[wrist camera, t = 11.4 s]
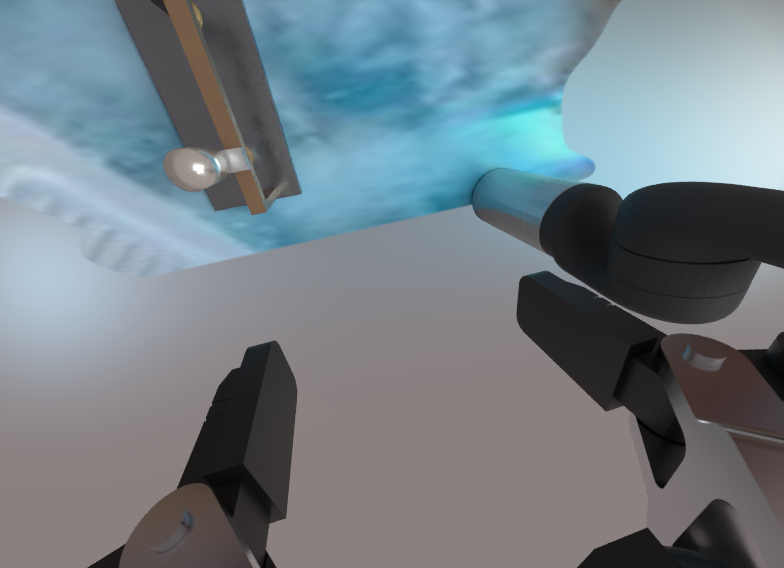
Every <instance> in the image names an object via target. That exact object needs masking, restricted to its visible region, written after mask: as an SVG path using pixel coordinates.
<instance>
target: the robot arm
mask: <svg viewBox="0 0 784 568" xmlns="http://www.w3.org/2000/svg"><path fill="white" fill-rule="evenodd" d="M472 205H473V209H474V212H475V214H476V215H477V216H478V217H479V218H480V219H481V220H483V221H485V222H487V223H489V224H491V225H492V226H494V227H496V228H498V229H500V230H502V231H504V232H506V233H507V234H509V235H511V236H513V237H515V238H517V239H519V240H521V241H523V242H525V243H527V244H528V245H530V246H532V247H534V248H536V249H538V250H540V251H542V252H544V253H546V254H548V255H550V256H552V257H553V258H554V260H555V261H556V263H557V264H558V265H559V267H561V268H562V269H563V270H564V271H566V272H567V273H569V274H570V275H572V276H574V277H575V278H577V279H578V280H580V281H582V282H583V283H585V284H586V285H588V286H589V287H591V288H592V289H594V290H595V291H597V292H598V293H600V294H602V295H603V296H605V297H607V298H608V299H610V300H612V301H613V302H615V303H617V304H619V305H621V306H623V307H625V308H627V309H629V310H631V311H634V312H636V313H639V314H641V315H644V316H647V317H650V318H654V319H658V320H661V321H666V322H671V323H679V324H704V323H710V322H714V321H718V320H720V319H723V318H725V317H726V316H728V315H730V314H731V313H732V312H733V311H735V309H736V308H737V307H738V306H739V304H740V303H741V301H742V300H743V298H744V296H745V294H746V292H747V290H748V288H749V286H750V284H751V281H752V280H753V278H754V276H755V274H756V272H757V270H758V268H759V266H760V264H761V262H763V263H767V264H770V265H774V266H777V267H780V268H783V269H784V191H781V190H774V189H766V188H758V187H751V186H743V185H735V184H725V183H711V182H673V183H672V182H671V183H661V184H656V185H651V186H647V187H644V188H641V189H638V190H636V191H634V192H632V193H631V194H629V195H628V196H627V197H626V198H625V199H624V200H622V198H621V197H620V195H619V194H618V193H617V192H616V191H614V190H612V189H611V188H608V187H605V186H601V185H595V184H590V183H583V182H578V181H572V180H566V179H561V178H555V177H550V176H544V175H539V174H533V173H528V172H522V171H517V170H512V169H506V168H498V169H494V170H492V171H490V172H488V173H487V174H485V175H484V176H483V177H482V178H481V179H480V181H479V182H478V184H477V185H476V187H475V190H474V193H473V198H472ZM517 321H518V324H519V326H520V328H521V329H522V330H523V332H525V334H526V335H527V336H528V337H529V338H531V339H532V340H533V341H534V342H535V343H536V344H537V345H538V346H539V347H540V348H541V349H542V350H543V351H544V352H545V353H546V354H547V355H548V356H549V357H550V358H551V359H552V360H553V361H554V362H555V363H556V364H557V365H559V366H560V368H562V369H563V370H564V371H565V372H566V373H567V374H568V375H569V376H570V377H571V378H572V379H573V380H574V381H575V382H576V383H577V384H578V385H579V386H580V387H581V388H583V390H584V391H585V392H586V393H587V394H588V395H589V396H590V397H591V398H593V399H594V400H595V401H596V402H597V403H598V404H599V405H600V406H601V407H602V408H603V409H604V410H605V411H609V410H612V409H615V408H618V407H621V406H625V407H626V408H627V409H628V410H629V411H630V413H629V415H628V422H629V426H630V430H631V433H632V437H633V441H634V445H635V448H636V452H637V456H638V460H639V463H640V467H641V471H642V475H643V478H644V482H645V485H646V489H647V494H648V511H647V528H645V529H643V530H640V531H638V532H635V533H633V534H631V535H628V536H625V537H623V538H621V539H618V540H616V541H613V542H611V543H608V544H606V545H603V546H601V547H598V548H596V549H594V550H593V551H592V552H591V554H589V556H588V557H587V558H586V559H585V560H584V561H583V562H582V563H581V564H580V565H579V566H578V567H577V568H784V332H782V333H780V334H779V335H778V336H777V338H776V339H775V340H774V342H773V343H772V345H771V346H770V347H769V349H759V350H757V349H755V350H736V349H734V348H732V347H731V346H729V345H726V344H724V343H722V342H719V341H717V340H714V339H711V338H708V337H703V336H700V335H694V334H685V333H684V334H683V333H682V334H681V333H680V334H679V333H678V334H671V335H666V334H664V333H663V332H660V331H659V330H657V329H656V328H654V327H652V326H650V325H649V324H647V323H645V322H643V321H642V320H640V319H638V318H637V317H635V316H633V315H631V314H630V313H628V312H626V311H624V310H623V309H621V308H619V307H617V306H615V305H612V304H611V303H610V302H609V301H607V300H605V299H603V298H599V296H598V295H597V294H595V293H593V292H591V291H589V290H588V289H586V288H584V287H582V286H579V285H576V284H573V283H569V282H566V281H564V280H562V279H561V278H559V277H557V276H556V275H554V274H552V273H550V272H549V271H542V272H538V273H534V274H530V275H526V276H523V277H522V278H521V279H520V282H519V292H518V302H517ZM296 402H297V386H296V381H295V378H294V375H293V373H292V371H291V369H290V366H289V364H288V362H287V360H286V358H285V356H284V354H283V352H282V350H281V348H280V346H279V344H278V343H277V341H271V342H267V343H264V344H259V345H256V346H252V347H249V348H247V350H246V352H245V355H244V358H243V361H242V364H241V367H240V368H236V369H233V370H231V372H230V373H229V374H228V375H227V377H226V378H225V379H224V380H223V381H222V383H221V384H220V385H219V387H218V389H217V392H216V394H215V397H214V399H213V401H212V406H211V407H210V409H209V411H208V414H207V416H206V422H204V424H203V426H202V429H201V431H200V434H199V436H198V438H197V441H196V443H195V446H194V448H193V451H192V453H191V455H190V458H189V461H188V463H187V465H186V468H185V470H184V473H183V475H182V478H181V480H180V482H179V485H178V487H177V489H176V490H175V491H173V492H171V493H170V494H168V495H167V496H165V497H164V498H163V499H161V500H160V501H159V502H158V503H157V504H156V505H155V506H153V507H152V508H151V509H150V510H149V511H148V513H147V514H146V515H145V516H144V517H143V518H142V519H141V521H140V522H139V523H138V525H137V526H136V528H135V529H134V531H133V532H132V534H131V535H130V537H129V539H128V541H127V543H126V544H125V545H123V546H121V547H120V548H118V549H117V550H115V551H113V552H112V553H110V554H109V555H107V556H105V557H104V558H102V559H101V560H99V561H97V562H96V563H94V564H93V565H91V566H89V567H88V568H280V567H279V565H278V563H277V561H276V560H275V558H274V557H273V555H272V553H271V551H270V550H269V548H268V547H267V546H266V543H267V535H268V529H269V524H270V523H273V522H276V521H279V520H282V519H285V518H286V512H287V501H288V491H289V480H290V469H291V458H292V446H293V434H294V425H295V414H296Z"/></svg>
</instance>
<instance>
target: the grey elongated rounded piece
mask: <svg viewBox="0 0 784 568" xmlns="http://www.w3.org/2000/svg"><path fill="white" fill-rule="evenodd" d="M163 164H164V170H165V173H166V175H167V177H168V178H169V179H170V181H171V182H172V183H173V184H175V185H176V186H177V187H179V188H181V189H183V190H186V191H190V192H197V191H201V190H203V189H206V188H208V187H210V186H212V185H214V184H216V183H219V182H221V181H223V180H224V179H225V178H226V177H227V175H228V173H234V172H239V171H245V170H249V169H251V166H250V164H249V161H248V158H247V156H246V153H245V151H244V148H243V147H238V148H233V149H227V150H221V151H218V150H216V149H214V148H212V147H208V146H199V147H188V148H177V149H173V150H171V151H170V152H168V153H167V155H166V156H165V158H164V163H163Z"/></svg>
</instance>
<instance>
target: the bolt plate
mask: <svg viewBox="0 0 784 568" xmlns="http://www.w3.org/2000/svg"><path fill="white" fill-rule="evenodd" d="M115 1H116V3H117V5H118V7H119V9H120V11H121V14H122V16H123V18H124V20H125V22H126V24H127V26H128V28H129V30H130V32H131V35H132V37H133V39H134V41H135V43H136V45H137V47H138V49H139V51H140V53H141V56H142V58H143V60H144V62H145V64H146V66H147V68H148V70H149V72H150V75H151V77H152V79H153V81H154V83H155V85H156V87H157V89H158V91H159V93H160V96H161V98H162V100H163V102H164V104H165V106H166V108H167V110H168V112H169V114H170V117H171V119H172V121H173V123H174V125H175V127H176V129H177V131H178V133H179V135H180V138H181V140H182V142H183V144H184V146H185V148H188V147H199V146H208V147H212V148H214V149H216V150H218V151H221V150H227V149H233V148H238V147H243V148H244V151H245V153H246V156H247V158H248V161H249V164H250V166H251V169H249V170H245V171H239V172H234V173H228V175H227V177H226V178H225V179H224V180H223V181H221V182H219V183H216V184H214V185H212V186H210V187H208V188H206V189H205V190H206V192H207V194H208V196H209V198H210V201H211V203H212V205H213V207H214V209H215V211H218V210H223V209H228V208H233V207H238V206H243V205H248V207H249V210H250V212H251V214H252V215H254V214H259V213H264V212H267V211H268V209H269V208H270V207H271V205H272V204H273V202H274V201H275V199H278V198H283V197H288V196H293V195H298V194H301V193H302V191H301V188H300V185H299V181H298V178H297V175H296V172H295V168H294V165H293V162H292V159H291V155H290V152H289V149H288V146H287V142H286V139H285V136H284V133H283V129H282V126H281V123H280V120H279V116H278V113H277V110H276V107H275V103H274V100H273V97H272V94H271V90H270V87H269V84H268V81H267V77H266V74H265V71H264V68H263V64H262V61H261V58H260V55H259V51H258V48H257V45H256V42H255V38H254V35H253V32H252V29H251V25H250V22H249V19H248V16H247V12H246V9H245V6H244V3H243V0H115Z"/></svg>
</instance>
